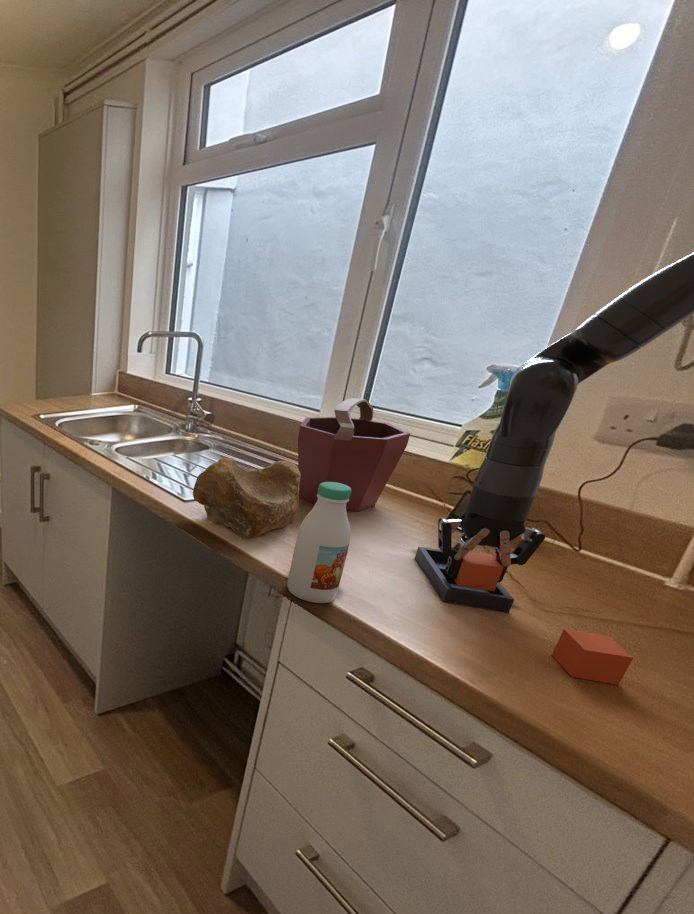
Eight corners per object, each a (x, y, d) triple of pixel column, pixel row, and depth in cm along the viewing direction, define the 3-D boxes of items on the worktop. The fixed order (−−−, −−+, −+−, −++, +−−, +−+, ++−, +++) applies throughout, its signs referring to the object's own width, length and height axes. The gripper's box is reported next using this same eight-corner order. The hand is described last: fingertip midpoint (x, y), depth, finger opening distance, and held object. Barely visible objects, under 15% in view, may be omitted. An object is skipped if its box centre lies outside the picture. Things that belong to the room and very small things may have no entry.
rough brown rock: (211, 550, 109) (227, 485, 102) (182, 513, 124) (193, 453, 117) (316, 547, 111) (338, 483, 104) (275, 511, 126) (291, 453, 119)
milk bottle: (287, 599, 90) (311, 490, 83) (284, 578, 97) (306, 475, 89) (339, 608, 87) (368, 496, 80) (332, 585, 94) (358, 480, 86)
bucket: (348, 523, 119) (375, 414, 109) (262, 493, 136) (279, 397, 127) (404, 502, 130) (433, 401, 121) (318, 477, 148) (338, 388, 138)
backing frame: (470, 565, 100) (474, 553, 99) (509, 612, 86) (514, 599, 85) (414, 557, 104) (418, 546, 103) (442, 602, 89) (447, 589, 88)
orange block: (596, 662, 74) (609, 635, 73) (619, 685, 70) (633, 657, 68) (551, 654, 76) (563, 628, 74) (571, 676, 72) (584, 649, 70)
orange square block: (482, 577, 92) (491, 554, 90) (494, 591, 87) (503, 567, 86) (448, 572, 93) (455, 549, 92) (458, 585, 89) (466, 562, 87)
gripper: (458, 489, 83) (427, 582, 89) (575, 500, 78) (534, 598, 84) (442, 475, 89) (415, 563, 96) (550, 484, 84) (513, 576, 91)
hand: (471, 579), depth 90 cm, fingers closed on orange square block, 5 cm apart
